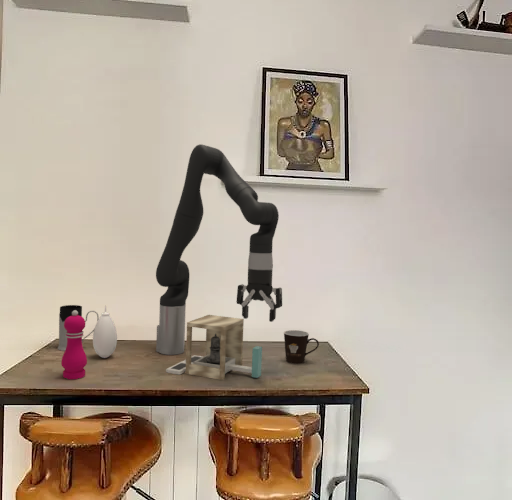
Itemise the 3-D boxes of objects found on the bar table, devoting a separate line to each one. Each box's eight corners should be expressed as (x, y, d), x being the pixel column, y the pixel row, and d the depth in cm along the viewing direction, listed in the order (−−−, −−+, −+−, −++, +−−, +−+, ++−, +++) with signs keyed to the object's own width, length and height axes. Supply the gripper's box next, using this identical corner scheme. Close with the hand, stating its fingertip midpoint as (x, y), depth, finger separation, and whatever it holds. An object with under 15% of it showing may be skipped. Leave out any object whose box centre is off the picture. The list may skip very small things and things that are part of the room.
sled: (193, 371, 153) (194, 343, 153) (207, 362, 162) (208, 336, 162) (253, 381, 145) (254, 351, 145) (265, 372, 155) (266, 344, 154)
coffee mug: (277, 360, 169) (278, 332, 168) (293, 356, 175) (294, 329, 175) (304, 368, 161) (305, 339, 161) (319, 363, 168) (320, 335, 167)
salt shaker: (220, 374, 152) (222, 336, 152) (202, 372, 154) (204, 335, 153) (225, 368, 158) (226, 332, 157) (208, 366, 159) (209, 330, 159)
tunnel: (185, 373, 152) (186, 322, 151) (207, 361, 165) (208, 314, 164) (223, 380, 147) (224, 327, 146) (241, 367, 160) (243, 318, 159)
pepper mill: (71, 381, 140) (72, 313, 139) (55, 376, 144) (56, 310, 143) (91, 375, 147) (93, 310, 145) (76, 370, 150) (77, 307, 149)
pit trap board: (165, 372, 152) (166, 368, 152) (194, 358, 169) (194, 354, 169) (179, 374, 150) (179, 371, 150) (206, 360, 167) (206, 356, 167)
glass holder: (62, 344, 180) (62, 304, 179) (100, 345, 181) (101, 305, 180) (53, 350, 172) (54, 308, 171) (94, 351, 173) (95, 309, 172)
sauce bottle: (98, 361, 160) (99, 308, 159) (88, 356, 166) (89, 304, 165) (120, 358, 166) (121, 306, 164) (110, 352, 171) (111, 302, 170)
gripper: (234, 266, 148) (232, 319, 149) (278, 270, 142) (276, 324, 143) (243, 265, 155) (242, 315, 156) (286, 268, 149) (284, 320, 150)
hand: (258, 319), depth 149 cm, fingers open, 8 cm apart
